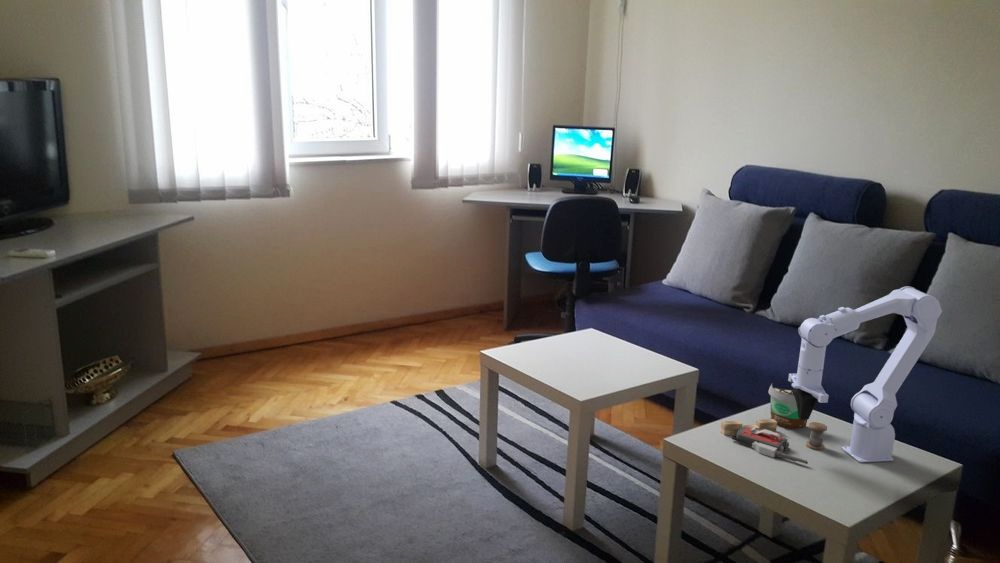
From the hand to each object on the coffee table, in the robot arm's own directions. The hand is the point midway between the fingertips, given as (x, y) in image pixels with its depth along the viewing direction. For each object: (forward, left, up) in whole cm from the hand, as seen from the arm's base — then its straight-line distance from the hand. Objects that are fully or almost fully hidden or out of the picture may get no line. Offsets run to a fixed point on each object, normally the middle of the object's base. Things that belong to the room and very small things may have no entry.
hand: (803, 418), depth 192 cm
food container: (-6, -17, -10) cm, 21 cm away
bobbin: (-7, -4, -10) cm, 13 cm away
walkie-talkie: (+6, -3, -10) cm, 12 cm away
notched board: (+7, -14, -10) cm, 18 cm away
